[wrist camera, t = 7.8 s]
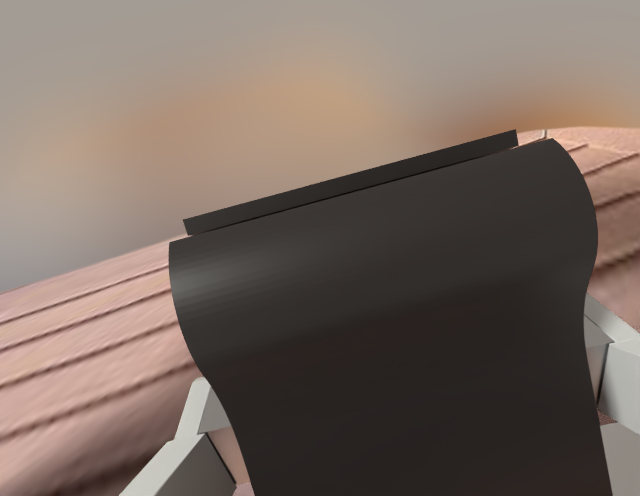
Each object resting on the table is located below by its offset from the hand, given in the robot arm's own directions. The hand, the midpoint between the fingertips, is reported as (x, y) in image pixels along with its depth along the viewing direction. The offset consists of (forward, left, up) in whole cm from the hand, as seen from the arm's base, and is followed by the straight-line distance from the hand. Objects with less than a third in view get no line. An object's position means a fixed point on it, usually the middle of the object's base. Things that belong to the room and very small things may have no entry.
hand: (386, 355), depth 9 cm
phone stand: (0, -1, -7) cm, 8 cm away
